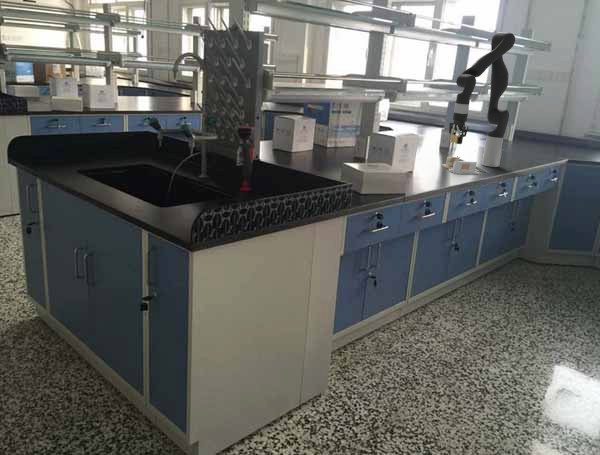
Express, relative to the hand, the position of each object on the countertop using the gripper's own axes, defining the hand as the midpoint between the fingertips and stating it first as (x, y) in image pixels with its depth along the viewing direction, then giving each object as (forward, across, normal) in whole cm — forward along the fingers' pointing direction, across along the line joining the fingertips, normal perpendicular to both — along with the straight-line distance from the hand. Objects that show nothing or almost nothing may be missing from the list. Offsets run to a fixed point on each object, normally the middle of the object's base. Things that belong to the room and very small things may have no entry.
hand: (455, 142), depth 292 cm
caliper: (+15, -4, -10) cm, 18 cm away
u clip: (0, 0, 0) cm, 0 cm away
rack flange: (+14, -12, +1) cm, 19 cm away
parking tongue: (+14, 0, 0) cm, 14 cm away
